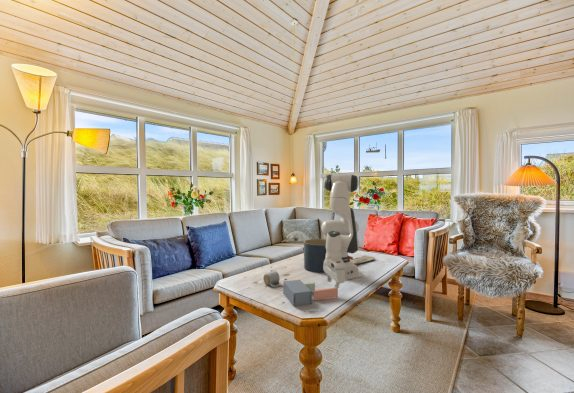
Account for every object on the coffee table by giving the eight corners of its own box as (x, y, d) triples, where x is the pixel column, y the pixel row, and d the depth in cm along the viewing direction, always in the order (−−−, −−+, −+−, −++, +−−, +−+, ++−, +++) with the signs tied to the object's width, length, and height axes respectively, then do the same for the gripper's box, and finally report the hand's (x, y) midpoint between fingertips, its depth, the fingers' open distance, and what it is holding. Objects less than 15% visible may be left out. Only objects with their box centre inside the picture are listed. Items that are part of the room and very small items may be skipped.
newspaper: (364, 257, 240) (364, 253, 239) (376, 260, 230) (377, 256, 230) (338, 265, 216) (338, 260, 216) (352, 268, 207) (352, 264, 207)
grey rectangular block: (300, 291, 163) (300, 279, 162) (312, 303, 146) (312, 290, 145) (283, 293, 159) (283, 281, 159) (293, 306, 142) (293, 293, 142)
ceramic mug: (262, 283, 175) (262, 271, 174) (273, 280, 180) (273, 269, 179) (271, 289, 166) (271, 276, 166) (282, 286, 171) (282, 274, 171)
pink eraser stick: (336, 296, 155) (336, 287, 154) (337, 296, 153) (337, 288, 153) (313, 299, 150) (313, 290, 150) (314, 300, 149) (314, 291, 149)
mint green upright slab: (313, 290, 162) (314, 282, 162) (314, 291, 161) (314, 283, 161) (291, 293, 158) (291, 284, 158) (292, 294, 157) (292, 285, 156)
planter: (332, 264, 217) (332, 239, 216) (334, 273, 195) (334, 245, 194) (304, 263, 219) (304, 238, 218) (303, 272, 197) (303, 244, 196)
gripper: (320, 255, 162) (320, 278, 163) (336, 267, 143) (335, 293, 144) (330, 254, 164) (330, 277, 165) (347, 266, 144) (346, 291, 146)
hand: (332, 284), depth 154 cm, fingers open, 8 cm apart
